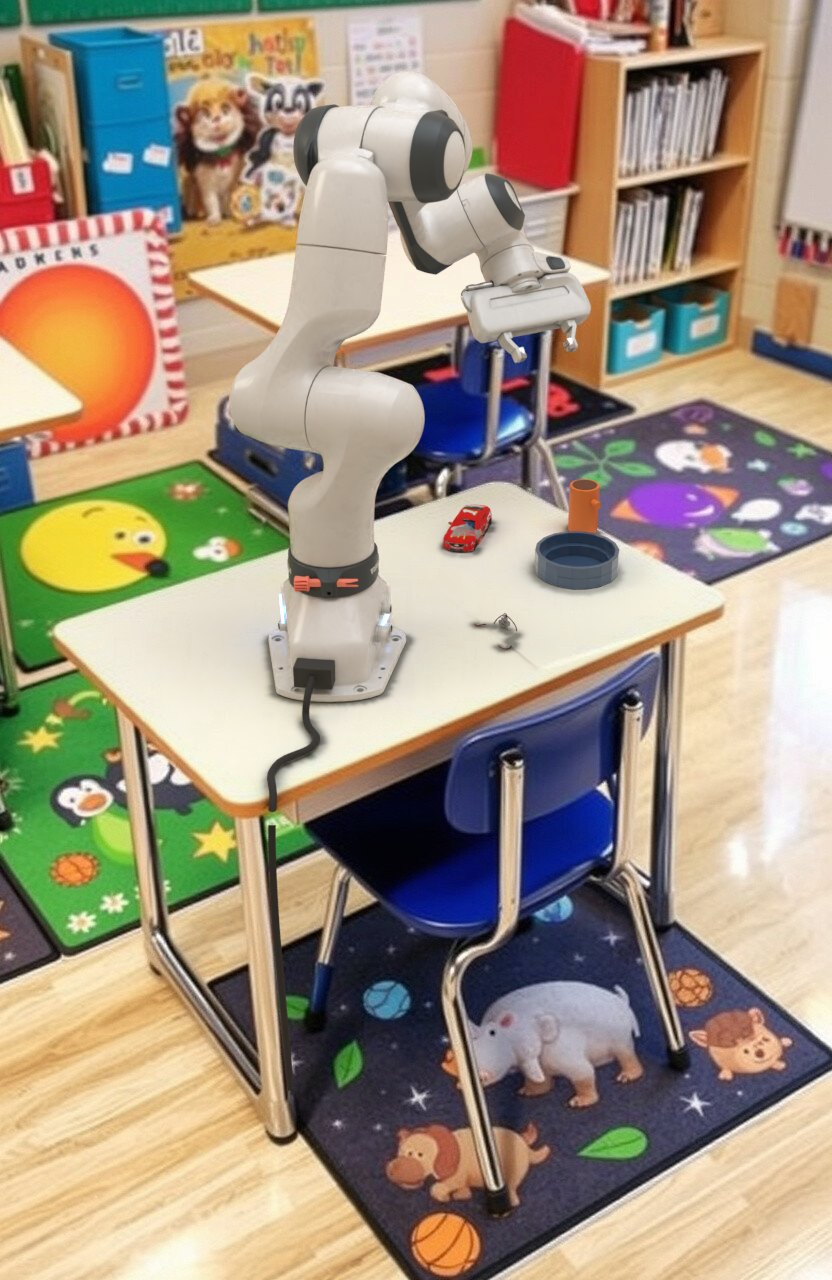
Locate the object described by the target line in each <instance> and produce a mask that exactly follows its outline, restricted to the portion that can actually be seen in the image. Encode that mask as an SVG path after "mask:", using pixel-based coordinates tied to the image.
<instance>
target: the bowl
mask: <svg viewBox="0 0 832 1280" xmlns="http://www.w3.org/2000/svg"><path fill="white" fill-rule="evenodd" d="M619 563H620V548H619V546H618V545H617V543H616V542H615V541H613V539H610V538H609V537H607V536H605V535H602V534H599V533H597V532H595V533H590V532H584V531H569V530H566V531H565V530H564V531H560V532H554V533H551V534H549V535H546V536H544V537H542V538H541V539H540V540H539V541H538V542H537V543H536V545H535V549H534V571H535V573H536V576H537V577H538V578H539V579H541V580H542V581H543V582H544V583H547V584H549V585H552V586H554V587H557V588H563V589H569V590H589V589H594V588H600V587H603V586H605V585H608V584H610V583H612V582H613V581H614V580H615V579H616V578H617V577H618V575H619V574H618V572H619Z"/></svg>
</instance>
